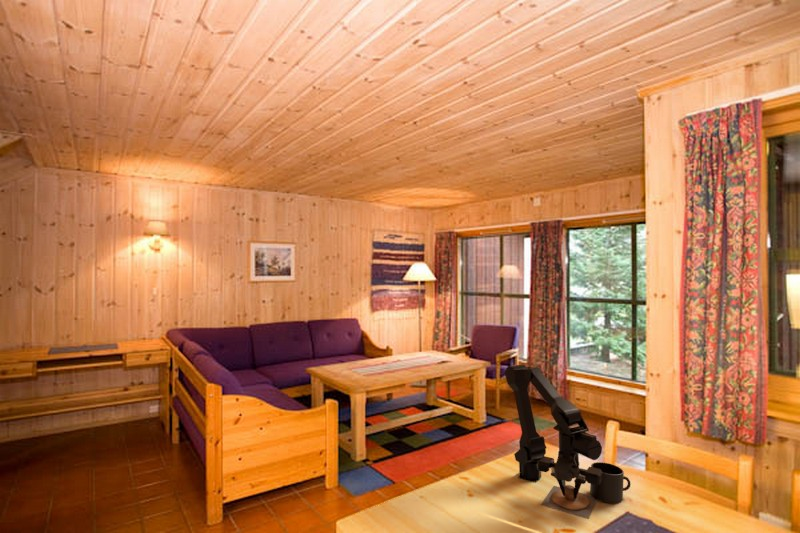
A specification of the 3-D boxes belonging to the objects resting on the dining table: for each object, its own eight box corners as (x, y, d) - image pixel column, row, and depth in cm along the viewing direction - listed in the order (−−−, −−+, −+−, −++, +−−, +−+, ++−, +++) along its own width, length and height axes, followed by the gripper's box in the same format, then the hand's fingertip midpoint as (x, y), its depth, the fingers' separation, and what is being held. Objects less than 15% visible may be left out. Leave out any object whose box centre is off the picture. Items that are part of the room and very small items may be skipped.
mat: (540, 506, 136) (540, 504, 136) (553, 487, 147) (553, 485, 147) (588, 520, 128) (588, 518, 128) (598, 499, 139) (598, 497, 139)
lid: (547, 503, 136) (546, 490, 136) (556, 487, 145) (556, 475, 145) (584, 513, 130) (584, 500, 130) (592, 497, 139) (592, 484, 139)
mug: (636, 506, 135) (637, 476, 135) (596, 502, 136) (597, 473, 136) (623, 491, 144) (624, 464, 144) (586, 488, 145) (587, 460, 145)
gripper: (530, 449, 136) (531, 499, 136) (594, 464, 125) (596, 518, 125) (542, 437, 145) (543, 484, 145) (602, 450, 135) (603, 501, 135)
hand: (569, 496), depth 137 cm, fingers closed on lid, 3 cm apart
